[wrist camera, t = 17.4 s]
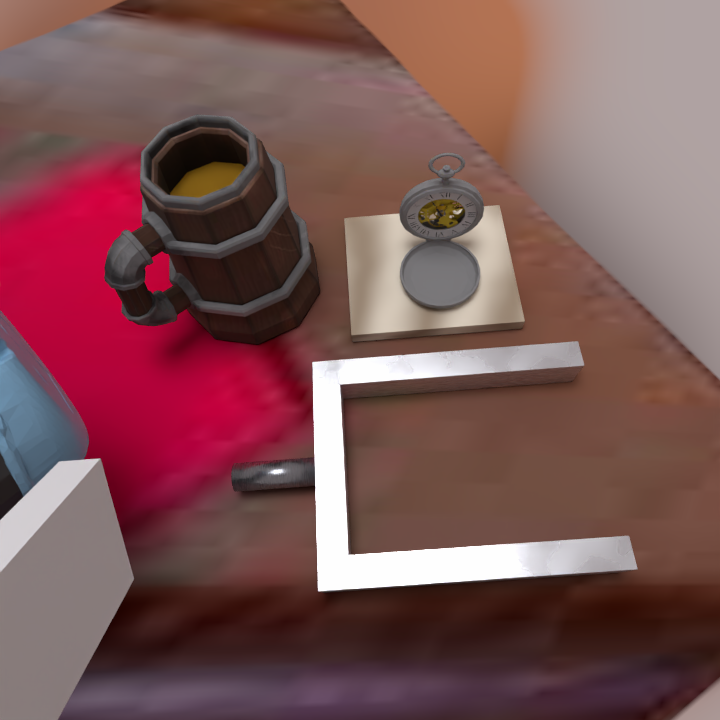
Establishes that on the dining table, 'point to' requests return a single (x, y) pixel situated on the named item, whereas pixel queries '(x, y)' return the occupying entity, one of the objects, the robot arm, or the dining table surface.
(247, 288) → the mug
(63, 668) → the robot arm
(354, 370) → the u-shaped metal frame
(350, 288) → the ash board
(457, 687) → the dining table surface
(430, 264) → the pocket watch
